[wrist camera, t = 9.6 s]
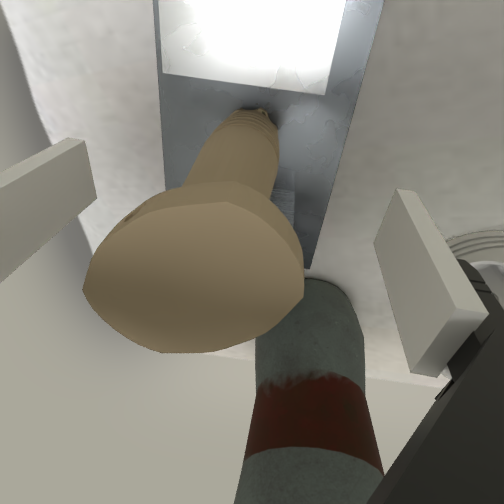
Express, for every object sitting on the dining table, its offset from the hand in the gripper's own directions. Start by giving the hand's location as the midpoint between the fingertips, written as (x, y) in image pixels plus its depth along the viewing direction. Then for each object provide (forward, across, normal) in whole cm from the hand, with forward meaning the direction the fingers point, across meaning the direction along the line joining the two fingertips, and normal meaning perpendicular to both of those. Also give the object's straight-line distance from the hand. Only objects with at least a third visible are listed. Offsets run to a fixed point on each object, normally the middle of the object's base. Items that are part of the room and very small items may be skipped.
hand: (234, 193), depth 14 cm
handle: (+9, 0, 0) cm, 9 cm away
